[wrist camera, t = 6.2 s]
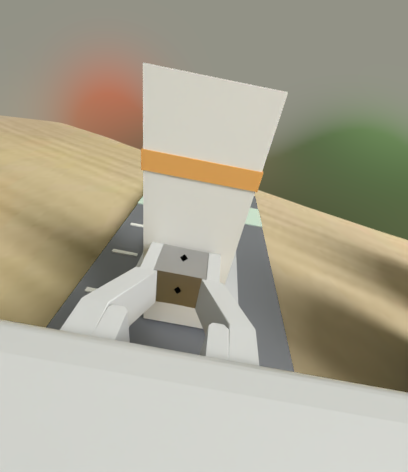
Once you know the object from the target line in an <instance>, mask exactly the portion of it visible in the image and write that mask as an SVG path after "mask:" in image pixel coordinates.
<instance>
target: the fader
mask: <svg viewBox="0 0 408 472" xmlns="http://www.w3.org/2000/svg"><path fill="white" fill-rule="evenodd" d="M287 94H288V92H285V91H280V90H275V89H270V88H265V87H260V86H255V85H250V84H245V83H240V82H236V81H231V80H225V79H221V78H216V77H211V76H206V75H201V74H196V73H192V72H187V71H182V70H176V69H172V68H166V67H162V66H157V65H152V64H147V63H143V148H142V149H141V170H143V259H144V257H145V255H146V253H147V251H148V249H149V246H150V244H151V243H152V242H157V243H162V244H167V245H172V246H176V247H181V248H186V249H191V250H196V251H202V252H207V253H215V254H220V255H221V263H220V282H221V283H223V284H224V285H225V282H226V279H227V276H228V273H229V270H230V267H231V264H232V261H233V258H234V255H235V252H236V249H237V246H238V243H239V240H240V237H241V234H242V231H243V228H244V225H245V222H246V219H247V216H248V212H249V209H250V206H251V203H252V200H253V197H254V194H255V192H257V191H258V188H259V184H260V182H261V179H262V176H263V167H264V164H265V161H266V158H267V155H268V152H269V149H270V146H271V143H272V140H273V137H274V134H275V130H276V127H277V124H278V121H279V118H280V115H281V112H282V109H283V106H284V103H285V100H286V97H287ZM144 318H146V319H152V320H157V321H163V322H168V323H174V324H179V325H185V326H190V327H196V328H201V329H203V327H202V325H201V323H200V320H199V318H198V316H197V313H196V311H195V308H190V307H186V306H181V305H176V304H170V303H164V302H157V301H155V303H154V304H153V305H152V306H151V307H150V308H149V309H148V310H147V311H145V312H144Z"/></svg>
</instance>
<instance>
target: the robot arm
mask: <svg viewBox="0 0 408 472" xmlns="http://www.w3.org/2000/svg"><path fill="white" fill-rule="evenodd" d="M220 263H221V255H220V254H215V253H207V252H202V251H196V250H191V249H186V248H181V247H176V246H172V245H167V244H162V243H157V242H152V243H151V244H150V246H149V249H148V251H147V253H146V255H145V257H144V259H143V261H142V263H141V265H140V267H135V268H133V269H131V270H129V271H127V272H126V273H124V274H122V275H120V276H119V277H117V278H115V279H113V280H112V281H110V282H108V283H106V284H105V285H103V286H101V287H99V288H98V289H96V290H94V291H92V292H91V293H89V294H87V295H85V296H84V297H82V298H81V300H80V301H79V302H78V304H77V305H76V307H75V308H74V310H73V311H72V313H71V314H70V316H69V317H68V318H67V320H66V321H65V323H64V324H63V326H62V327H61V329H60V330H57V329H51V328H46V327H40V326H35V325H29V324H24V323H18V322H13V321H7V320H1V319H0V472H408V392H403V391H397V390H392V389H386V388H380V387H375V386H369V385H364V384H358V383H353V382H347V381H341V380H336V379H330V378H325V377H319V376H314V375H308V374H302V373H297V372H291V371H286V370H280V369H275V368H269V367H263V366H259V357H258V348H257V338H256V330H255V328H254V327H253V325H252V324H251V322H250V321H249V320H248V318H247V317H246V315H245V314H244V312H243V311H242V309H241V308H240V307H239V305H238V304H237V302H236V301H235V299H234V298H233V297H232V295H231V294H230V292H229V291H228V289H227V288H226V286H225V285H224V284H223V283H221V282H220ZM155 301H157V302H164V303H170V304H176V305H181V306H186V307H190V308H195V311H196V313H197V316H198V318H199V320H200V323H201V325H202V327H203V330H204V332H205V335H206V336H205V339H204V342H203V345H202V348H201V351H200V354H199V355H197V354H191V353H185V352H180V351H174V350H169V349H163V348H157V347H152V346H146V345H141V344H135V343H130V339H129V326H130V325H131V324H132V323H133V322H134V321H136V320H137V319H138V318H139V317H140V316H141V315H142V314H143V313H144V312H145V311H147V310H148V309H149V308H150V307H151V306H152V305H153V304H154V303H155Z"/></svg>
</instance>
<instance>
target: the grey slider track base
mask: <svg viewBox="0 0 408 472" xmlns="http://www.w3.org/2000/svg"><path fill="white" fill-rule="evenodd" d="M142 261H143V197H142V198H141V199H140V201H139V202H138V204H137V206H136V207H135V208H134V210H133V211H132V212H131V214H130V215H129V216H128V218H127V219H126V220H125V222H124V223H123V224H122V226H121V227H120V228H119V230H118V231H117V232H116V234H115V235H114V237H113V238H112V239H111V241H110V242H109V243H108V245H107V246H106V247H105V249H104V250H103V251H102V253H101V254H100V255H99V257H98V258H97V259H96V261H95V262H94V263H93V265H92V266H91V267H90V269H89V270H88V272H87V273H86V274H85V276H84V277H83V278H82V280H81V281H80V282H79V284H78V285H77V286H76V288H75V289H74V290H73V292H72V293H71V294H70V296H69V297H68V298H67V300H66V301H65V302H64V304H63V305H62V307H61V308H60V309H59V311H58V312H57V313H56V315H55V316H54V317H53V319H52V320H51V321H50V323H49V324H48V325H47V327H46V328H51V329H57V330H60V329H61V327H62V326H63V324H64V323H65V321H66V320H67V318H68V317H69V316H70V314H71V313H72V311H73V310H74V308H75V307H76V305H77V304H78V302H79V301H80V300H81V298H82V297H84V296H85V295H87V294H89V293H91V292H92V291H94V290H96V289H98V288H99V287H101V286H103V285H105V284H106V283H108V282H110V281H112V280H113V279H115V278H117V277H119V276H120V275H122V274H124V273H126V272H127V271H129V270H131V269H133V268H135V267H140V265H141V263H142ZM225 286H226V288H227V289H228V291H229V292H230V294H231V295H232V297H233V298H234V299H235V301H236V302H237V304H238V305H239V307H240V308H241V309H242V311H243V312H244V314H245V315H246V317H247V318H248V320H249V321H250V322H251V324H252V325H253V327H254V328H255V330H256V338H257V348H258V357H259V366H263V367H269V368H275V369H280V370H286V371H291V372H294V369H293V364H292V360H291V355H290V351H289V346H288V342H287V338H286V333H285V329H284V324H283V320H282V315H281V311H280V306H279V302H278V297H277V293H276V288H275V284H274V279H273V275H272V270H271V266H270V261H269V257H268V252H267V248H266V244H265V239H264V235H263V230H262V223H261V219H260V214H259V210H258V208H257V203H256V199H255V196H254V197H253V200H252V203H251V206H250V209H249V212H248V216H247V219H246V222H245V225H244V228H243V231H242V234H241V237H240V240H239V243H238V246H237V249H236V252H235V255H234V258H233V261H232V264H231V267H230V270H229V273H228V276H227V279H226V282H225ZM205 336H206V335H205V332H204V330H203V329H201V328H196V327H190V326H185V325H179V324H174V323H168V322H163V321H157V320H152V319H146V318H144V313H143V314H142V315H141V316H140V317H139V318H138V319H137V320H136V321H134V322H133V323H132V324H131V325H130V326H129V339H130V343H135V344H141V345H146V346H152V347H157V348H163V349H169V350H174V351H180V352H185V353H191V354H197V355H199V354H200V351H201V348H202V345H203V342H204V339H205Z"/></svg>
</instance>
